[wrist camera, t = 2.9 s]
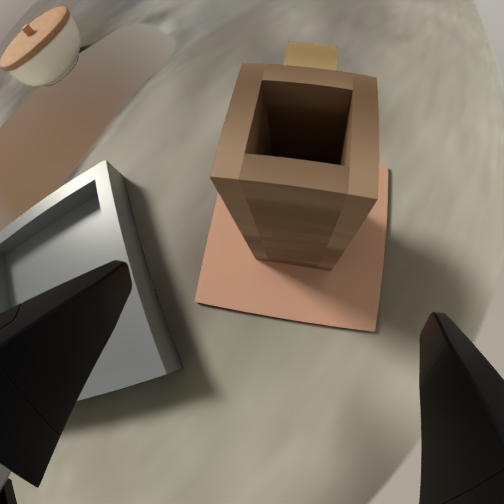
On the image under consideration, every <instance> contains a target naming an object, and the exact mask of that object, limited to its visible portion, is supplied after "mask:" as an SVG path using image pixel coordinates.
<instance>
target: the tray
mask: <svg viewBox="0 0 504 504" xmlns="http://www.w3.org/2000/svg"><path fill="white" fill-rule="evenodd" d="M113 260H119V261H124V262H126V263H127V264H128V266H129V271H130V275H131V280H132V290H131V293H130V295H129V297H128V299H127V302H126V304H125V306H124V308H123V311H122V313H121V315H120V318H119V320H118V322H117V324H116V327H115V329H114V331H113V333H112V335H111V336H110V338H109V340H108V342H107V344H106V346H105V347H104V349H103V351H102V353H101V355H100V357H99V359H98V361H97V362H96V364H95V366H94V368H93V370H92V372H91V374H90V376H89V378H88V380H87V382H86V384H85V386H84V388H83V390H82V392H81V394H80V396H79V398H78V400H77V401H79V400H82V399H86V398H90V397H93V396H97V395H101V394H104V393H108V392H111V391H115V390H118V389H122V388H125V387H128V386H131V385H135V384H138V383H141V382H144V381H147V380H151V379H154V378H157V377H160V376H163V375H166V374H169V373H172V372H175V371H177V370H180V369H183V366H182V364H181V361H180V359H179V356H178V353H177V351H176V348H175V346H174V343H173V340H172V337H171V335H170V332H169V329H168V327H167V324H166V321H165V318H164V315H163V312H162V309H161V307H160V304H159V301H158V298H157V295H156V292H155V289H154V285H153V282H152V279H151V276H150V273H149V270H148V266H147V263H146V260H145V256H144V253H143V250H142V246H141V243H140V239H139V236H138V232H137V228H136V225H135V221H134V217H133V214H132V210H131V206H130V202H129V198H128V194H127V190H126V185H125V181H124V177H123V175H122V174H120V173H119V172H118V171H117V170H116V169H115V168H114V167H113V166H112V165H111V164H110V163H109V162H108V161H107V160H104V161H103V162H101V163H99V164H97V165H96V166H94V167H92V168H91V169H89V170H88V171H86V172H84V173H83V174H81V175H79V176H78V177H76V178H75V179H73V180H72V181H70V182H68V183H67V184H65V185H64V186H62V187H61V188H59V189H58V190H56V191H55V192H53V193H52V194H50V195H49V196H48V197H46V198H45V199H43V200H42V201H40V202H39V203H37V204H36V205H35V206H33V207H32V208H31V209H29V210H28V211H27V212H25V213H24V214H22V215H21V216H20V217H18V218H17V219H16V220H15V221H13V222H12V223H11V224H9V225H8V226H7V227H6V228H4V229H3V230H2V231H1V232H0V313H1V312H3V311H5V310H7V309H10V308H12V307H14V306H16V305H18V304H20V303H23V302H24V301H26V300H28V299H30V298H32V297H34V296H37V295H39V294H41V293H43V292H45V291H47V290H49V289H51V288H53V287H56V286H58V285H60V284H62V283H64V282H66V281H69V280H71V279H73V278H75V277H77V276H80V275H82V274H84V273H86V272H88V271H91V270H93V269H95V268H97V267H100V266H102V265H104V264H106V263H109V262H111V261H113Z"/></svg>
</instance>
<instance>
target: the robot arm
mask: <svg viewBox="0 0 504 504" xmlns="http://www.w3.org/2000/svg"><path fill="white" fill-rule="evenodd" d="M131 290H132V280H131V275H130V271H129V266H128V264H127V263H126V262H124V261H119V260H113V261H111V262H109V263H106V264H104V265H102V266H100V267H97V268H95V269H93V270H91V271H88V272H86V273H84V274H82V275H80V276H77V277H75V278H73V279H71V280H69V281H66V282H64V283H62V284H60V285H58V286H56V287H53V288H51V289H49V290H47V291H45V292H43V293H41V294H39V295H37V296H34V297H32V298H30V299H28V300H26V301H24V302H23V303H20V304H18V305H16V306H14V307H12V308H10V309H7V310H5V311H3V312H1V313H0V504H17V501H16V498H15V494H14V490H13V485H12V481H11V480H10V479H9V478H8V477H9V475H10V473H11V472H13V473H15V474H16V475H18V476H19V477H21V478H22V479H24V480H26V481H27V482H29V483H30V484H32V485H34V486H35V487H37V488H38V487H39V485H40V483H41V481H42V478H43V476H44V473H45V471H46V468H47V466H48V464H49V461H50V459H51V457H52V454H53V452H54V450H55V447H56V445H57V443H58V441H59V438H60V436H61V434H62V431H63V429H64V427H65V425H66V423H67V421H68V418H69V416H70V414H71V412H72V410H73V408H74V406H75V404H76V402H77V400H78V398H79V396H80V394H81V392H82V390H83V388H84V386H85V384H86V382H87V380H88V378H89V376H90V374H91V372H92V370H93V368H94V366H95V364H96V362H97V361H98V359H99V357H100V355H101V353H102V351H103V349H104V347H105V346H106V344H107V342H108V340H109V338H110V336H111V335H112V333H113V331H114V329H115V327H116V324H117V322H118V320H119V318H120V315H121V313H122V311H123V308H124V306H125V304H126V302H127V299H128V297H129V295H130V293H131ZM419 389H420V407H421V439H422V455H421V456H422V457H421V486H420V501H419V504H504V380H503V378H502V377H501V376H500V375H499V374H498V372H497V371H496V370H495V369H494V367H493V366H492V365H491V364H490V363H489V362H488V360H487V359H486V358H485V357H484V356H483V355H482V353H480V351H479V350H478V349H477V348H476V347H475V345H474V344H473V343H472V342H471V341H470V340H469V339H468V338H467V336H466V335H465V334H464V333H463V332H462V331H461V330H460V329H459V328H458V327H457V326H456V324H455V323H454V322H453V321H452V320H451V319H450V318H449V317H448V316H447V315H446V314H445V313H439V312H433V313H431V314H430V316H429V318H428V320H427V322H426V324H425V326H424V328H423V330H422V332H421V334H420V373H419Z"/></svg>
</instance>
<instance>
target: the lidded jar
mask: <svg viewBox="0 0 504 504" xmlns="http://www.w3.org/2000/svg"><path fill="white" fill-rule="evenodd" d="M80 46H81V37H80V33H79V29H78V27H77V25H76V22H75V21H74V19H73V17H72V16H71V15H70V12H69V10H68V8H67V7H65V6H60V7H56V8H54V9H52V10H49V11H47V12H46V13H44V14H42V15H41V16H39V17H38V18H37V19H35V20H34V21H33V22H31V23H30V24H26V25H25V26H24V27H23V28H22V31H21V32H20V33H19V34H18V35H17V36H16V37H15V39H14V40H13V41H12V42H11V43H10V45H9V46H8V47H7V49H6V50H5V52H4V54H3V56H2V58H1V61H0V67H1V68H2V69H3V70H4V71H7V72H8V73H9V74H10V75H11V76H12V77H13V78H14V79H16V80H17V81H18V82H20V83H22V84H24V85H28V86H34V87H38V86H51V85H53V84H55V83H57V82H58V81H60V80H61V79H63V78H64V77H65V76H66V75H67V74H68V73H69V72H70V71H71V70H72V69H73V68H74V66H75V65H76V63H77V61H78V54H79V50H80Z"/></svg>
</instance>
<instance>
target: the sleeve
mask: <svg viewBox="0 0 504 504" xmlns="http://www.w3.org/2000/svg"><path fill="white" fill-rule="evenodd" d="M336 65H337V46H331V45H323V44H314V43H304V42H292V41H288V43H287V48H286V53H285V58H284V63H283V65H276V64H256V63H242V66H241V69H240V72H239V75H238V78H237V82H236V85H235V88H234V91H233V95H232V98H231V101H230V105H229V108H228V112H227V115H226V118H225V122H224V125H223V129H222V132H221V136H220V139H219V143H218V147H217V150H216V154H215V158H214V161H213V165H212V169H211V173H210V178H211V180H212V182H213V184H214V185H215V187H216V189H217V191H218V193H219V194H220V196H221V198H222V200H223V202H224V203H225V205H226V207H227V209H228V211H229V212H230V214H231V216H232V218H233V220H234V221H235V223H236V225H237V227H238V229H239V230H240V232H241V234H242V236H243V238H244V239H245V241H246V243H247V245H248V247H249V248H250V250H251V252H252V254H253V256H254V257H255V259H258V260H264V261H271V262H277V263H284V264H290V265H296V266H303V267H309V268H316V269H322V270H329V271H331V270H332V269H333V267H334V266H335V264H336V263H337V262H338V260H339V259H340V257H341V256H342V254H343V253H344V251H345V250H346V248H347V247H348V245H349V244H350V242H351V241H352V239H353V238H354V236H355V235H356V233H357V231H358V230H359V228H360V227H361V225H362V224H363V222H364V221H365V219H366V217H367V216H368V214H369V213H370V211H371V210H372V208H373V206H374V205H375V203H376V202H377V200H378V184H379V114H378V92H377V78H376V77H371V76H366V75H360V74H354V73H348V72H342V71H336Z"/></svg>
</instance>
